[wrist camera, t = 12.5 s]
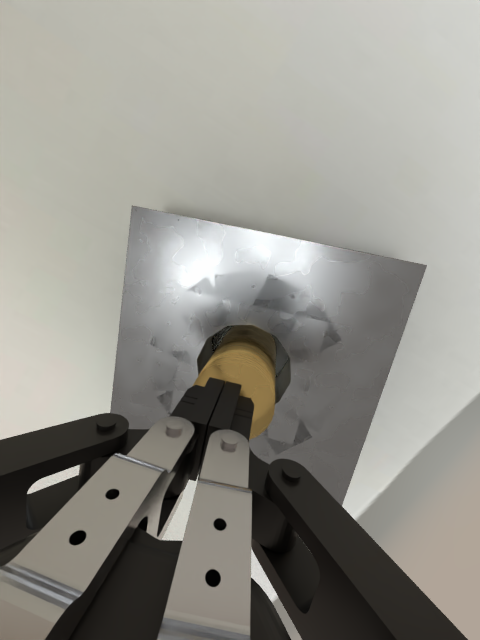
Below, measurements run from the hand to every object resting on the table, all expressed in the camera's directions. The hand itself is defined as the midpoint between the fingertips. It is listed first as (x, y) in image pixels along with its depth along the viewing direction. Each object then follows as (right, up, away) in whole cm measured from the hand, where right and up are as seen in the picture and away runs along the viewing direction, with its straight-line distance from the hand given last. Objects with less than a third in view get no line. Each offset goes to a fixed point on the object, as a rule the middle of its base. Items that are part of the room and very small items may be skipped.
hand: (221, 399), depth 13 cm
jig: (+2, +1, +8) cm, 8 cm away
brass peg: (+1, +1, +8) cm, 8 cm away
